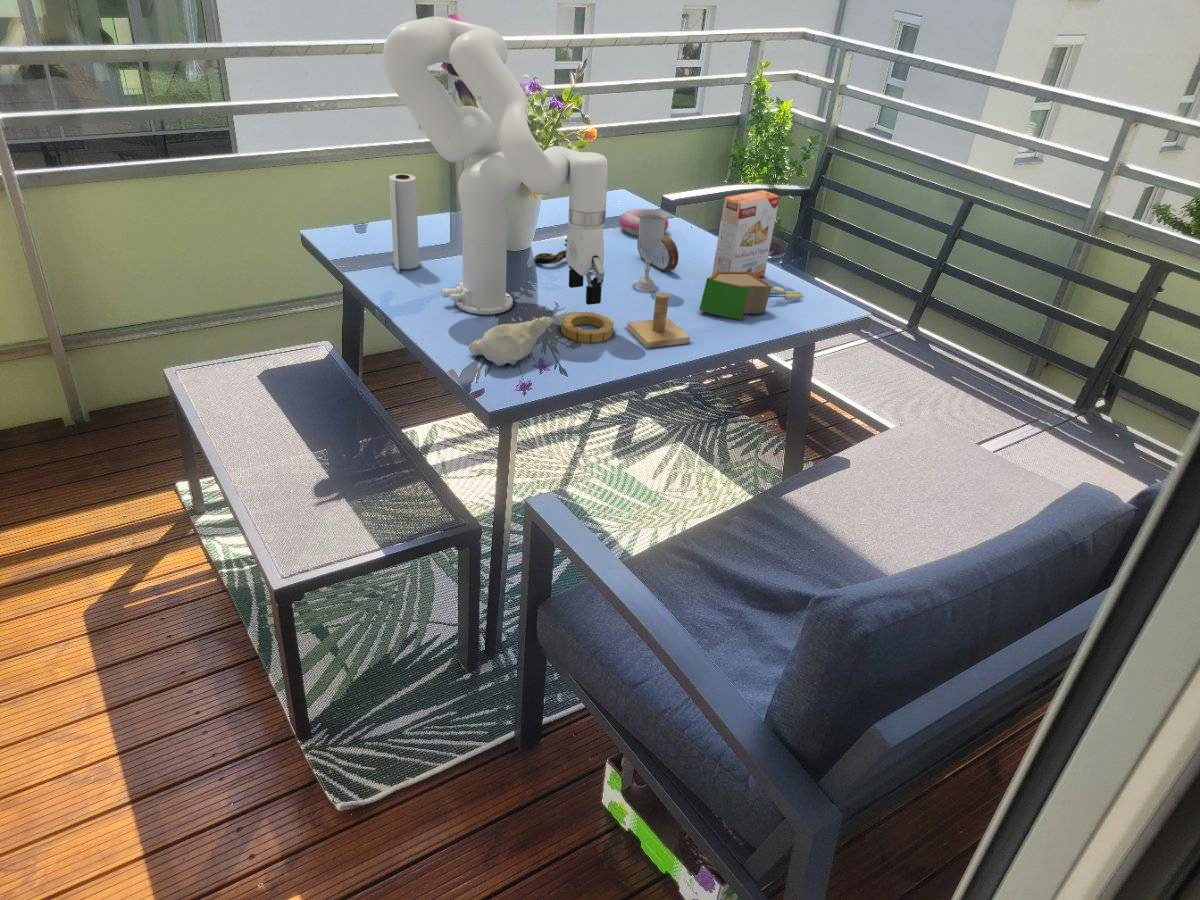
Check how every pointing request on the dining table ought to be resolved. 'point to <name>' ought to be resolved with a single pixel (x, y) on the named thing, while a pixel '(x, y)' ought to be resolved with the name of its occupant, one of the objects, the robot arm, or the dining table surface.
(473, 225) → the robot arm
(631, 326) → the stand
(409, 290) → the dining table surface
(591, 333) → the ring
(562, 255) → the toy snake
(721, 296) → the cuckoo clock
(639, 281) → the chalice
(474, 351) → the conch shell
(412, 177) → the paper towel roll
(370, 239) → the dining table surface
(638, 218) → the donut
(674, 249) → the tin
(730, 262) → the cracker box
